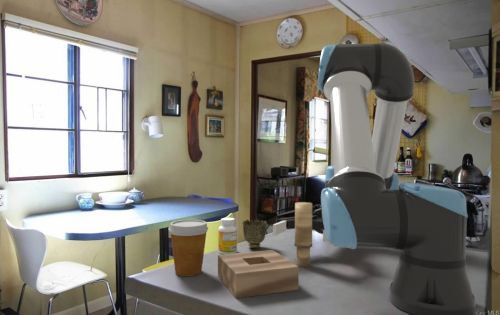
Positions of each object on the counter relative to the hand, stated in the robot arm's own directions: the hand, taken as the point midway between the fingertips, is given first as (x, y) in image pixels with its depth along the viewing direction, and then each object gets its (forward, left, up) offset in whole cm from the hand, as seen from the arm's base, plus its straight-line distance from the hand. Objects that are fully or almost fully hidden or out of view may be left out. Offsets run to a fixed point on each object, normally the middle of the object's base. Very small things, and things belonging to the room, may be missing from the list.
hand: (298, 232), depth 95 cm
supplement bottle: (+20, +12, -9) cm, 25 cm away
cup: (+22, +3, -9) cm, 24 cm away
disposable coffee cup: (+6, +26, -9) cm, 29 cm away
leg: (+2, -3, -9) cm, 10 cm away
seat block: (-6, +13, -9) cm, 17 cm away
